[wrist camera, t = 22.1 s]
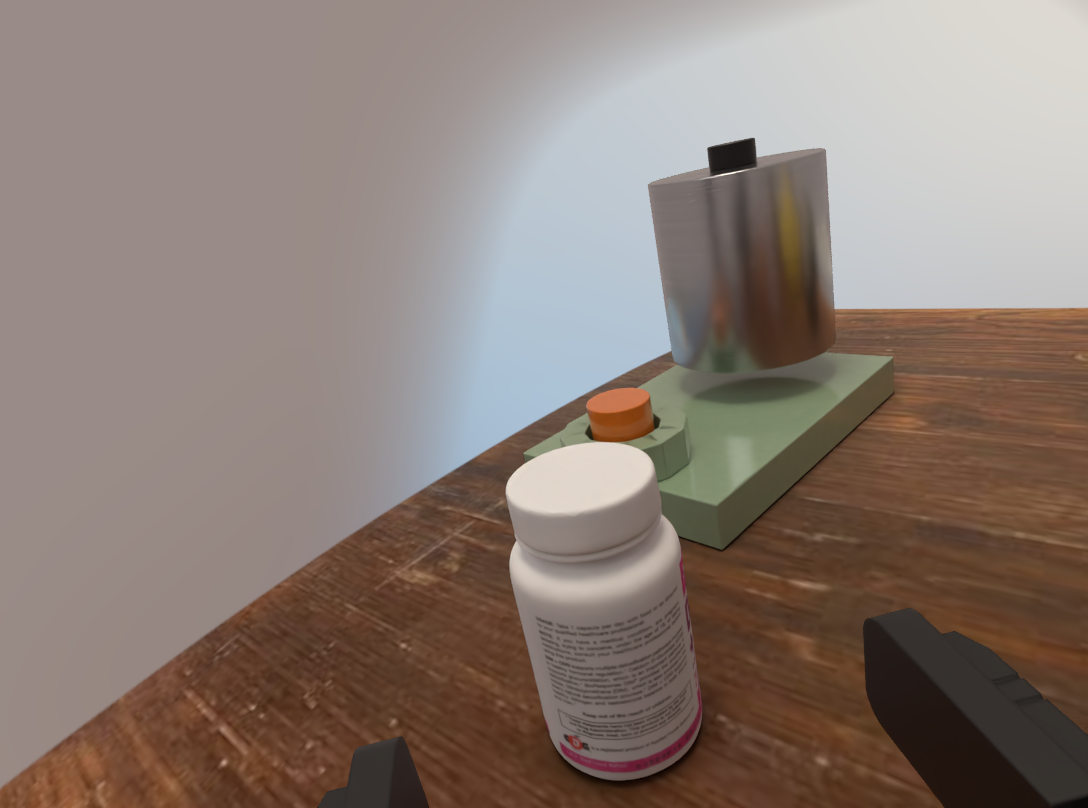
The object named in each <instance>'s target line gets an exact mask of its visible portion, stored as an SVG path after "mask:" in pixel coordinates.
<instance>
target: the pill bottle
mask: <svg viewBox="0 0 1088 808" xmlns="http://www.w3.org/2000/svg"><path fill="white" fill-rule="evenodd" d="M506 497H507V502H508V507H509V512H510V516H511V520H512V523H513V529H514V531H515V537H516V540H517V541H516V543H515V544H514V547H513V549H512V552H511V556H510V563H509V565H510V576H511V582H512V586H513V590H514V594H515V598H516V603H517V607H518V611H519V615H520V619H521V623H522V627H523V631H524V635H525V639H526V643H527V647H528V651H529V655H530V659H531V663H532V667H533V671H534V675H535V680H536V684H537V688H538V692H539V696H540V700H541V705H542V709H543V714H544V718H545V722H546V725H547V728H548V731H549V734H550V737H551V739H552V742H553V744H554V745H555V747H556V749H557V750H558V752H559V753H560V754H561V755H562V756H563V758H564V759H565V760H567V761H568V762H569V763H570V764H571V765H573V766H574V767H576V768H577V769H579V770H581V771H582V772H585V773H587V774H589V775H592V776H595V777H598V778H602V779H607V780H631V779H637V778H642V777H646V776H649V775H652V774H654V773H656V772H659V771H661V770H663V769H665V768H667V767H668V766H670V765H672V764H673V763H675V762H676V761H677V760H678V759H680V758H681V757H682V756H683V755H684V754H685V753H686V752H687V751H688V750H689V748H690V747H691V746H692V744H693V743H694V741H695V739H696V737H697V734H698V732H699V729H700V725H701V720H702V700H701V692H700V686H699V679H698V672H697V665H696V659H695V652H694V643H693V635H692V628H691V621H690V613H689V605H688V598H687V591H686V584H685V574H684V567H683V560H682V552H681V546H680V542H679V538H678V535H677V533H676V531H675V529H674V527H673V526H672V524H671V523H670V522H669V520H668V519H667V518H666V517H664V516H663V515H662V511H661V497H660V492H659V487H658V482H657V477H656V472H655V467H654V464H653V462H652V460H651V458H650V457H649V456H648V455H647V454H646V453H645V452H643V451H642V450H640V449H638V448H635V447H632V446H630V445H625V444H620V443H610V442H594V443H583V444H576V445H571V446H566V447H563V448H559V449H555V450H552V451H550V452H547V453H544V454H542V455H540V456H538V457H535V458H534V459H532V460H530V461H528V462H527V463H525V464H524V465H522V466H521V467H520V468H519V469H517V470H516V471H515V472H514V474H513V475H512V476H511V477H510V479H509V481H508V483H507V486H506Z"/></svg>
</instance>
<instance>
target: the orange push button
mask: <svg viewBox="0 0 1088 808" xmlns="http://www.w3.org/2000/svg"><path fill="white" fill-rule="evenodd" d="M586 407H587V413H588V418H589V423H590V428H591V433H592V438H593V440H595V441H599V442H626V441H631V440H634V439H637V438H641V437H644V436H646V435H648V434H649V433H651V432H652V431H654V430H655V423H654V417H653V411H652V404H651V398H650V394H649V393H648V392H647V391H646V390H643V389H639V388H620V389H614V390H610V391H606V392H603V393H600V394H598V395H596V396H594V397H592V398H591V399H590V400H589V401H588V402H587V405H586Z"/></svg>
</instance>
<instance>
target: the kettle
mask: <svg viewBox="0 0 1088 808" xmlns="http://www.w3.org/2000/svg"><path fill="white" fill-rule="evenodd" d="M707 150H708V159H709V168H704V169H700V170H695V171H692V172H687V173H682V174H678V175H674V176H671V177H667V178H663V179H660V180H657V181H654V182H651V183H650V184H648V189H649V196H650V203H651V209H652V217H653V224H654V231H655V238H656V244H657V251H658V259H659V265H660V273H661V280H662V287H663V293H664V300H665V307H666V315H667V322H668V329H669V336H670V342H671V349H672V356H673V360H674V361H675V362H676V363H677V364H678V365H679V366H681V367H684V368H686V369H690V370H694V371H698V372H706V373H722V374H732V373H750V372H759V371H766V370H772V369H778V368H783V367H787V366H791V365H795V364H798V363H801V362H805V361H807V360H810V359H813V358H815V357H817V356H819V355H821V354H823V353H825V352H826V351H828V350H829V349H830V348H831V347H832V346H833V345H834V344H835V341H836V330H835V311H834V294H833V274H832V258H831V257H832V256H831V237H830V220H829V201H828V184H827V165H826V150H825V149H822V148H818V149H807V150H800V151H794V152H787V153H781V154H775V155H769V156H764V157H758V158H757V157H756V146H755V138H749V139H744V140H739V141H734V142H729V143H725V144H720V145H716V146H712V147H708V149H707Z"/></svg>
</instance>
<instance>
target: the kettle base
mask: <svg viewBox="0 0 1088 808" xmlns="http://www.w3.org/2000/svg"><path fill="white" fill-rule="evenodd" d="M638 388H639V389H643V390H646V391H647V392H648V393H649V394H650V398H651V404H652V411H653V417H654V423H655V430H654V431H652V432H651V433H649V434H648V435H646V436H644V437H641V438H637V439H634V440H631V441H626V442H610V443H620V444H625V445H630V446H632V447H635V448H638V449H640V450H642V451H643V452H645V453H646V454H647V455H648V456H649V457H650V458H651V460H652V462H653V464H654V467H655V472H656V477H657V482H658V487H659V492H660V497H661V511H662V515H663V516H664V517H666V518H667V519H668V520H669V522H670V523H671V524H672V526H673V527H674V529H675V531H676V533H677V535H678V536H680V537H683V538H686V539H689V540H692V541H695V542H698V543H702V544H705V545H708V546H711V547H714V548H717V549H720V550H723V549H724V548H725V547H726V546H727V545H728V544H730V543H731V542H732V541H733V540H734V539H735V538H736V537H737V536H738V535H739V534H740V533H742V532H743V531H744V530H745V529H746V528H747V527H748V526H749V525H750V524H751V523H752V522H753V521H755V520H756V519H757V518H758V517H759V516H760V515H761V514H762V513H763V512H764V511H765V510H767V509H768V508H769V507H770V506H771V505H772V504H773V503H774V502H775V501H776V500H777V499H778V498H780V497H781V496H782V495H783V494H784V493H785V492H786V491H787V490H788V489H789V488H790V487H792V486H793V485H794V484H795V483H796V482H797V481H798V480H799V479H800V478H801V477H802V476H803V475H805V474H806V473H807V472H808V471H809V470H810V469H811V468H812V467H813V466H814V465H815V464H816V463H818V462H819V461H820V460H821V459H822V458H823V457H824V456H825V455H826V454H827V453H828V452H830V451H831V450H832V449H833V448H834V447H835V446H836V445H837V444H838V443H839V442H840V441H841V440H843V439H844V438H845V437H846V436H847V435H848V434H849V433H850V432H851V431H852V430H853V429H855V428H856V427H857V426H858V425H859V424H860V423H861V422H862V421H863V420H864V419H865V418H866V417H868V416H869V415H870V414H871V413H872V412H873V411H874V410H875V409H876V408H877V407H878V406H880V405H881V404H882V403H883V402H884V401H885V400H886V399H887V398H888V397H889V396H890V395H891V394H893V393H894V366H893V357H888V356H872V355H856V354H840V353H823V354H821V355H819V356H817V357H815V358H813V359H810V360H807V361H805V362H801V363H798V364H795V365H791V366H787V367H783V368H778V369H772V370H766V371H759V372H750V373H732V374H722V373H706V372H698V371H694V370H690V369H686V368H684V367H681V366H679V365H676V366H674V367H673V368H671V369H669V370H667V371H666V372H664V373H662V374H660V375H659V376H657V377H655V378H653V379H652V380H650V381H648V382H646V383H645V384H643V385H641V386H639V387H638ZM594 442H599V441H595V440H593V438H592V433H591V428H590V423H589V418H588V413H586V414H584V415H583V416H581V417H579V418H577V419H576V420H574V421H572V422H570V423H569V424H568V425H567V426H566V428H565V429H564V430H562V431H561V432H559V433H557V434H555V435H554V436H552V437H550V438H548V439H547V440H545V441H543V442H541V443H540V444H538V445H536V446H534V447H533V448H531V449H529V450H527V451H526V452H524V453H523V455H524V459H525V463H527V462H528V461H530V460H532V459H534V458H535V457H538V456H540V455H542V454H544V453H547V452H550V451H552V450H555V449H559V448H563V447H566V446H571V445H576V444H583V443H594Z"/></svg>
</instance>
